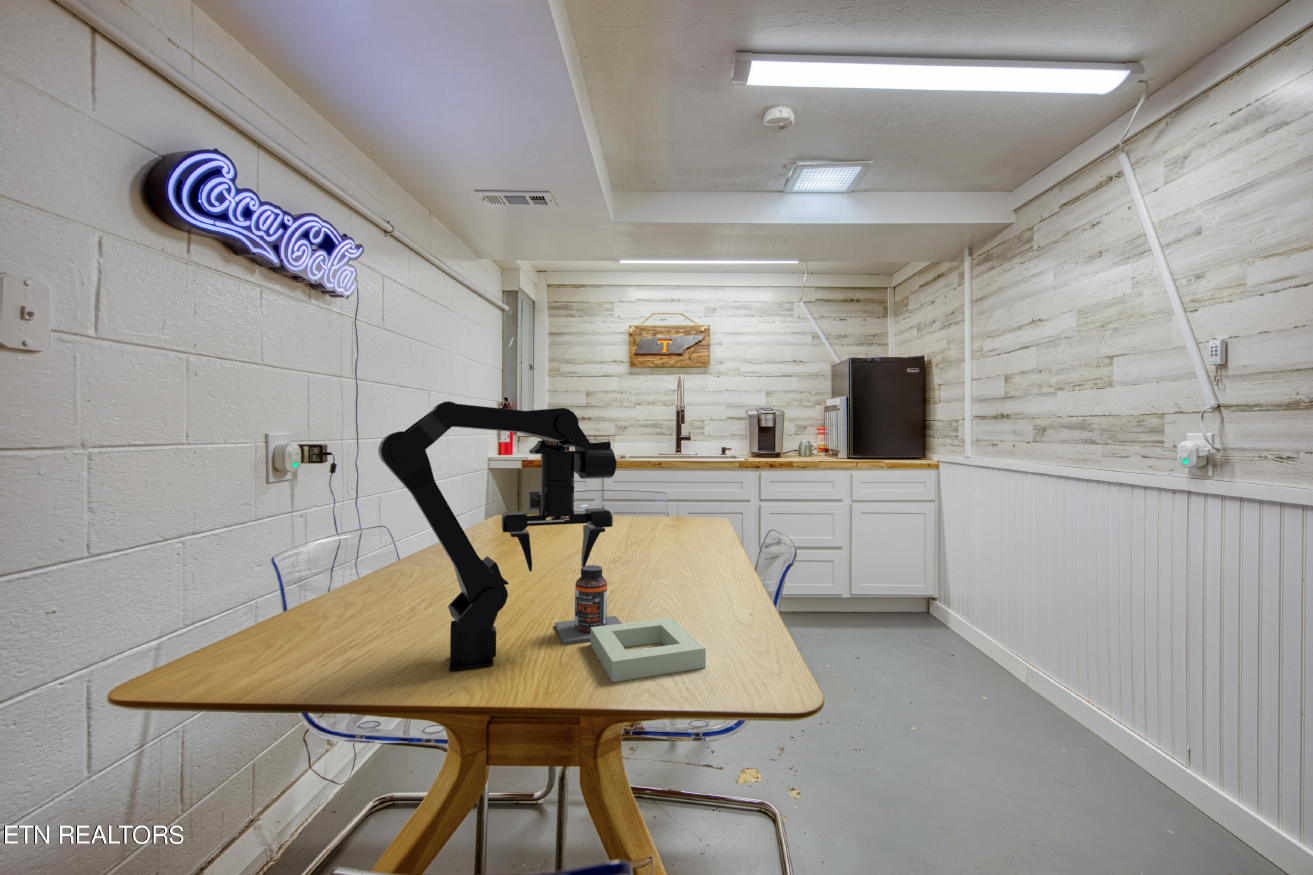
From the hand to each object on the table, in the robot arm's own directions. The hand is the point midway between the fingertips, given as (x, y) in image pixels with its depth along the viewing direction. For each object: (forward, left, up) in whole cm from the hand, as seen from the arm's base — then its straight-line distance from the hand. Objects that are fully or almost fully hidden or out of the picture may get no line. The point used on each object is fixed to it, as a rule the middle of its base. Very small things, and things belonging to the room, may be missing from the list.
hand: (557, 568), depth 89 cm
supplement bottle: (+7, +4, -13) cm, 15 cm away
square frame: (+13, -10, -13) cm, 21 cm away
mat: (+7, +4, -13) cm, 15 cm away
